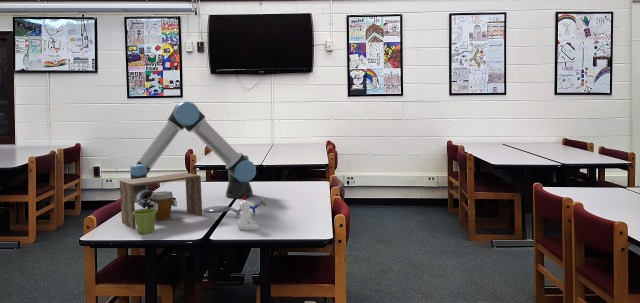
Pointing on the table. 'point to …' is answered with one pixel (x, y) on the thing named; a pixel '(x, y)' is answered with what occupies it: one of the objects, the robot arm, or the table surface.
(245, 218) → the white creature statuette
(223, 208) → the slate coaster
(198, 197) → the walnut shelf
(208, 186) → the table surface
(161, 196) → the disposable coffee cup
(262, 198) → the molecular model
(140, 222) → the plant pot
